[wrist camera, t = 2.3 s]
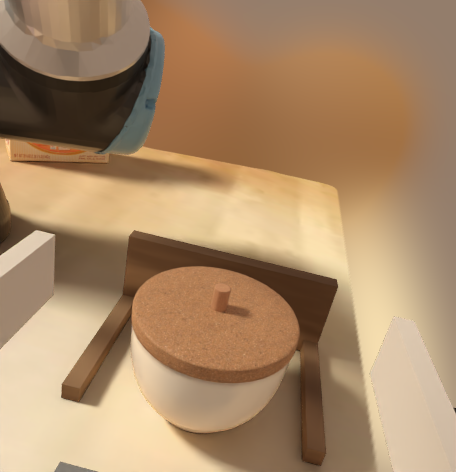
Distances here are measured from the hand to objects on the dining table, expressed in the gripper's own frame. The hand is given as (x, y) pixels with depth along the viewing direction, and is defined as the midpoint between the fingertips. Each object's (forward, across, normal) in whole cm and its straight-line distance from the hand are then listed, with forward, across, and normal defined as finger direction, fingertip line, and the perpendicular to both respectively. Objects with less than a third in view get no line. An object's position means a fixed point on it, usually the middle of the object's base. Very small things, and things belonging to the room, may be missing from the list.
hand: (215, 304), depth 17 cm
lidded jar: (+9, 0, -14) cm, 17 cm away
